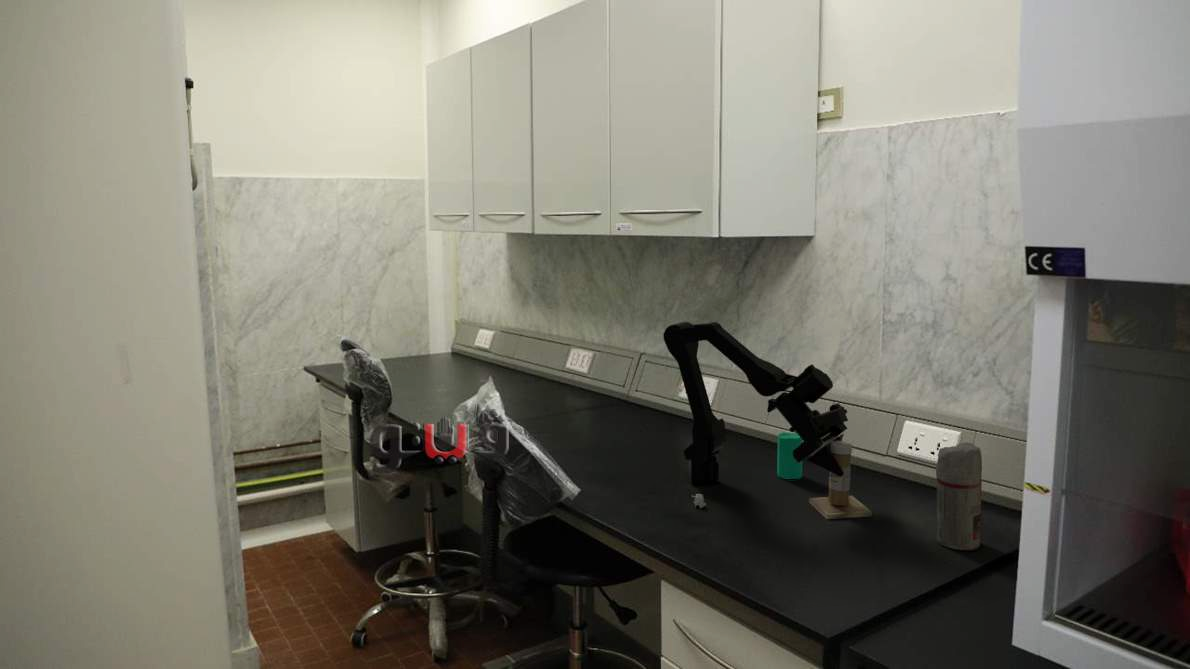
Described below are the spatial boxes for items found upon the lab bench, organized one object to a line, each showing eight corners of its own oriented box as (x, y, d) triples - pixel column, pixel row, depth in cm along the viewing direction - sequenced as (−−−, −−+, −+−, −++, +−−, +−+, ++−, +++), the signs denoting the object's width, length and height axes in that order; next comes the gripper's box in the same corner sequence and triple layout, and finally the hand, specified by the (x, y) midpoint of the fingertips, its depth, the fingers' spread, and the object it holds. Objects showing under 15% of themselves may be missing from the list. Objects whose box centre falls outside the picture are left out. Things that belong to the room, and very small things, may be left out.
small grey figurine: (706, 507, 181) (706, 494, 180) (702, 511, 178) (702, 497, 178) (693, 505, 182) (693, 492, 182) (689, 509, 180) (689, 495, 179)
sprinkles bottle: (823, 500, 178) (825, 441, 176) (840, 497, 180) (842, 439, 178) (837, 507, 174) (839, 447, 172) (854, 504, 176) (856, 444, 173)
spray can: (960, 555, 152) (966, 453, 149) (925, 540, 160) (929, 442, 156) (990, 546, 156) (996, 446, 153) (954, 532, 163) (959, 436, 160)
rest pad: (826, 519, 171) (826, 514, 171) (809, 502, 181) (809, 497, 181) (871, 516, 172) (871, 511, 172) (851, 499, 182) (851, 495, 182)
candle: (802, 480, 196) (803, 433, 194) (777, 479, 197) (778, 432, 195) (801, 473, 201) (802, 426, 200) (776, 471, 203) (777, 425, 201)
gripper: (808, 402, 168) (859, 463, 163) (840, 386, 183) (887, 441, 178) (772, 433, 174) (820, 492, 169) (805, 414, 189) (850, 468, 184)
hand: (846, 472), depth 175 cm, fingers closed on sprinkles bottle, 4 cm apart
